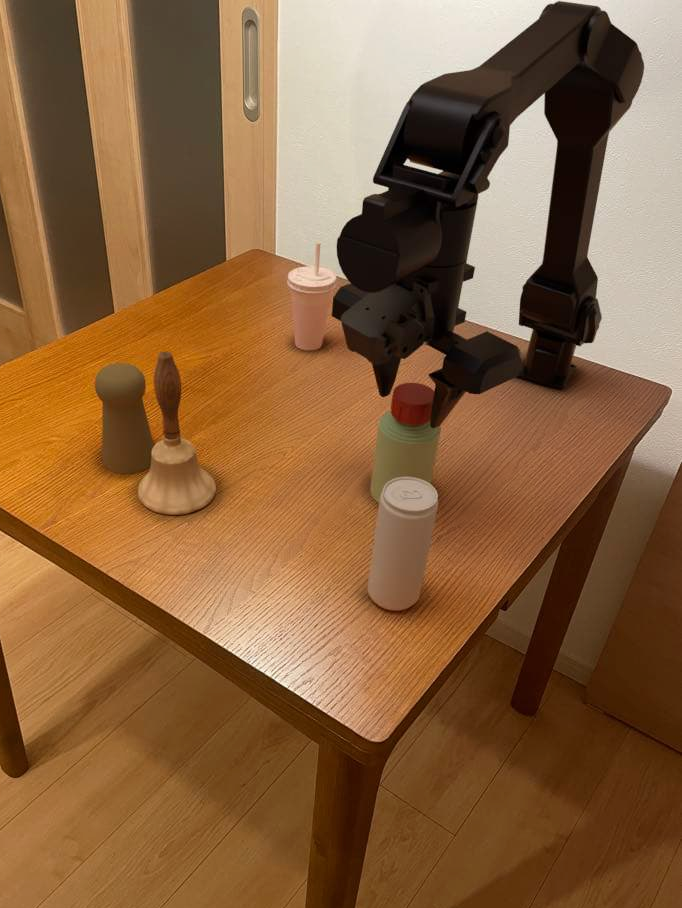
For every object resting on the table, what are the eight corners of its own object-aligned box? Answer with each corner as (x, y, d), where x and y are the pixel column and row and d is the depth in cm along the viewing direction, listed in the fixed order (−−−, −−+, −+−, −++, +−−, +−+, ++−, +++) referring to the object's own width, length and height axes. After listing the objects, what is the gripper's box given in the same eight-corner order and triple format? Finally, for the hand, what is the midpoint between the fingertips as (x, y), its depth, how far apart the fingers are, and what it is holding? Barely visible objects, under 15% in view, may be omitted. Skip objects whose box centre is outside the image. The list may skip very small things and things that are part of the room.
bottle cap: (415, 398, 81) (419, 378, 79) (440, 418, 78) (444, 398, 77) (382, 408, 79) (385, 388, 78) (406, 429, 77) (410, 408, 75)
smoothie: (327, 357, 107) (335, 254, 97) (281, 352, 108) (283, 249, 98) (335, 335, 111) (342, 235, 102) (289, 330, 112) (293, 230, 103)
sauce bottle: (384, 468, 89) (397, 378, 81) (437, 486, 86) (454, 395, 79) (360, 498, 84) (371, 406, 77) (414, 517, 82) (431, 425, 75)
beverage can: (362, 577, 75) (376, 476, 67) (412, 575, 76) (432, 474, 68) (371, 615, 72) (387, 512, 64) (424, 612, 72) (446, 510, 64)
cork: (165, 448, 90) (158, 361, 83) (141, 478, 86) (131, 389, 79) (117, 437, 92) (106, 351, 84) (91, 466, 87) (77, 378, 80)
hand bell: (121, 496, 84) (102, 360, 73) (172, 458, 89) (161, 326, 78) (182, 526, 80) (172, 388, 70) (231, 485, 86) (229, 350, 75)
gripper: (290, 240, 69) (285, 395, 80) (450, 320, 59) (420, 488, 69) (383, 214, 75) (367, 363, 85) (545, 283, 64) (504, 444, 74)
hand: (409, 410), depth 78 cm, fingers open, 7 cm apart
